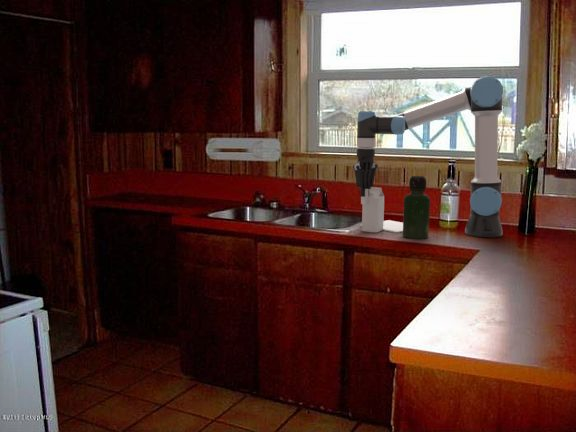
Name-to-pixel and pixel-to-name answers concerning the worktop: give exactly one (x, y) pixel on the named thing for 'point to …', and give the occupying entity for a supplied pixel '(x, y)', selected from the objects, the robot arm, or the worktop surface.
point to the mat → (392, 226)
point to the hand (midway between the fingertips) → (364, 204)
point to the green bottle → (416, 210)
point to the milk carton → (373, 211)
